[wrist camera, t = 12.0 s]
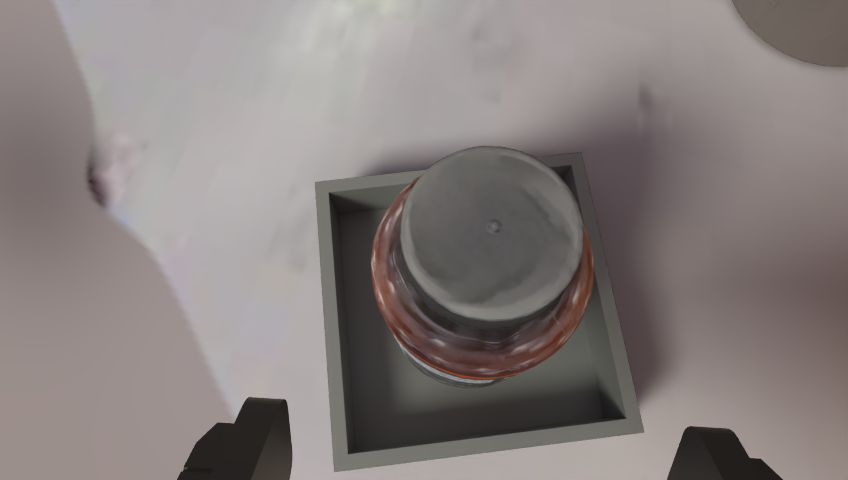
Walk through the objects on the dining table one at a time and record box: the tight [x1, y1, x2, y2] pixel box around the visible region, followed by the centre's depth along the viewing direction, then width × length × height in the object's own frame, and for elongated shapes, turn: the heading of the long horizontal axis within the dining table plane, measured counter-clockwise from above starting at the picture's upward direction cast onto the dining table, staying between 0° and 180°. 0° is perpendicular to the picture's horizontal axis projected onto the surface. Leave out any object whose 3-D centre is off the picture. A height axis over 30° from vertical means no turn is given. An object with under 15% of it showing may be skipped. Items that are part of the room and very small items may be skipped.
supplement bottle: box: [371, 146, 594, 388], centre depth 17 cm, size 6×6×11 cm
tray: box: [315, 152, 644, 472], centre depth 22 cm, size 11×11×3 cm
